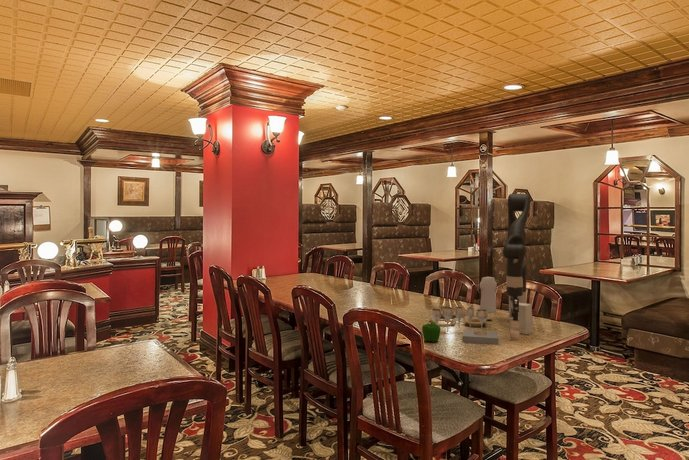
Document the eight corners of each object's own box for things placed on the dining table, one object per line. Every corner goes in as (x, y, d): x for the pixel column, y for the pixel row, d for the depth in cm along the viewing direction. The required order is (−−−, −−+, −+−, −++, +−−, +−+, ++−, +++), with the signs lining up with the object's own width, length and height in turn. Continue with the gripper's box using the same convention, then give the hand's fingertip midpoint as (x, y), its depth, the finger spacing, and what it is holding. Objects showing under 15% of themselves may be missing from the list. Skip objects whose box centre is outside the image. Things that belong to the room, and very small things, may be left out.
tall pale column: (480, 312, 278) (480, 277, 277) (478, 311, 282) (478, 276, 281) (497, 312, 278) (497, 276, 277) (495, 311, 282) (495, 276, 281)
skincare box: (533, 333, 231) (533, 304, 230) (525, 335, 227) (525, 305, 227) (518, 329, 238) (518, 301, 237) (511, 331, 234) (511, 303, 234)
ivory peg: (509, 337, 223) (509, 317, 222) (518, 338, 222) (518, 318, 221) (510, 340, 219) (510, 319, 219) (519, 340, 218) (519, 320, 218)
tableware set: (427, 326, 249) (427, 319, 249) (431, 314, 277) (431, 308, 277) (494, 330, 239) (494, 322, 239) (491, 317, 268) (491, 310, 267)
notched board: (463, 335, 228) (463, 329, 228) (496, 337, 224) (496, 331, 223) (463, 342, 216) (463, 336, 216) (498, 344, 212) (498, 338, 212)
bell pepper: (419, 339, 222) (419, 319, 222) (434, 338, 225) (434, 318, 224) (427, 344, 214) (427, 323, 214) (443, 342, 216) (442, 322, 216)
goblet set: (432, 334, 232) (432, 308, 232) (431, 331, 238) (431, 306, 237) (488, 335, 228) (488, 309, 228) (486, 332, 234) (486, 306, 234)
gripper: (505, 283, 227) (505, 315, 228) (507, 287, 213) (507, 321, 214) (521, 283, 225) (521, 315, 226) (524, 287, 211) (524, 322, 212)
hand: (514, 318), depth 220 cm, fingers open, 8 cm apart
